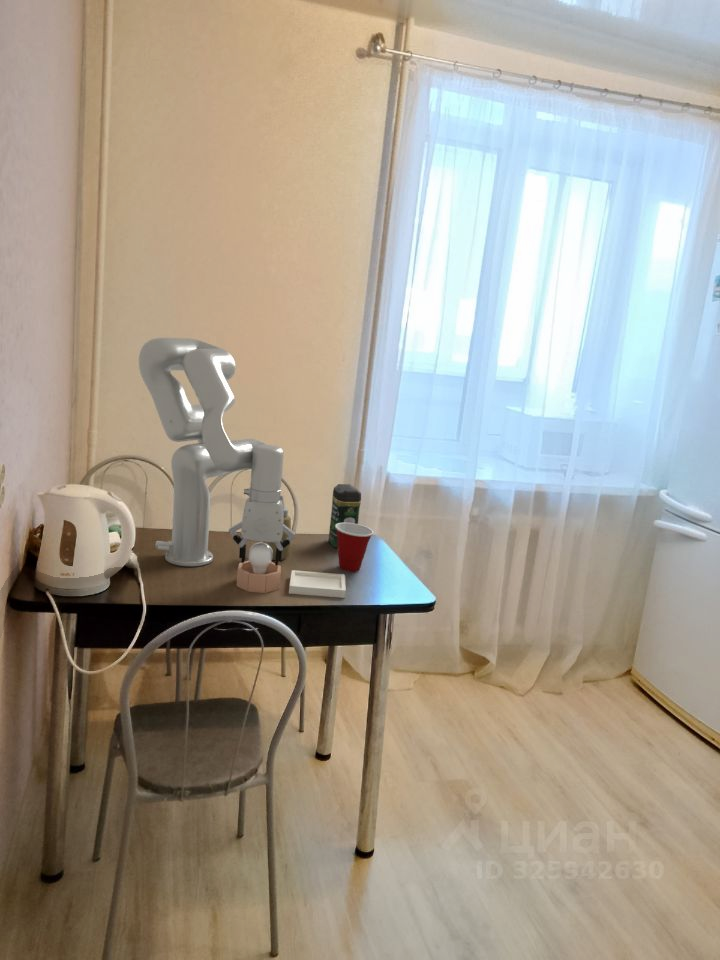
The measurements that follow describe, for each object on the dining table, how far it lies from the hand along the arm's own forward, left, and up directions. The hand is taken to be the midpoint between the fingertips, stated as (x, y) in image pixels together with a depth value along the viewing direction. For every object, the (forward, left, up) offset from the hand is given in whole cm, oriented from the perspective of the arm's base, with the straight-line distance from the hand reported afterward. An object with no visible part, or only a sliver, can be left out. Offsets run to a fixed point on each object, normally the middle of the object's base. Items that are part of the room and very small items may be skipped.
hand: (260, 562), depth 182 cm
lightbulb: (0, 0, -6) cm, 6 cm away
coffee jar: (+22, +37, -6) cm, 43 cm away
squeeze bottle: (+3, +21, -6) cm, 22 cm away
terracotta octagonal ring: (0, 0, -6) cm, 6 cm away
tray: (+15, +1, -6) cm, 16 cm away
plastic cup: (+24, +17, -6) cm, 30 cm away
